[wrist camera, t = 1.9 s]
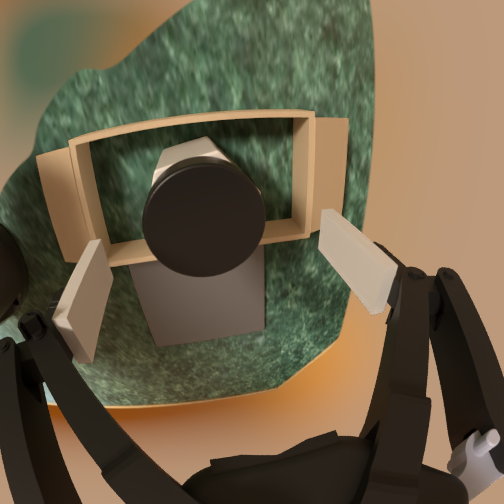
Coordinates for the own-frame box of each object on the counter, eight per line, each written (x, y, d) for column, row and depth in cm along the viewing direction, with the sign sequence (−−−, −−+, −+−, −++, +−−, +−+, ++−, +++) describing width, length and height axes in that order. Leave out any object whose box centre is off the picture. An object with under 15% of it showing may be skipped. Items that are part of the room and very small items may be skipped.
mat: (156, 344, 38) (156, 347, 38) (125, 249, 30) (124, 252, 29) (263, 327, 41) (264, 329, 40) (262, 229, 33) (263, 231, 32)
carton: (73, 255, 28) (62, 275, 25) (44, 146, 21) (27, 154, 18) (331, 218, 34) (347, 232, 31) (337, 111, 27) (357, 114, 24)
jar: (222, 223, 31) (245, 289, 21) (149, 210, 28) (134, 275, 18) (245, 145, 27) (286, 174, 17) (167, 127, 25) (156, 144, 14)
